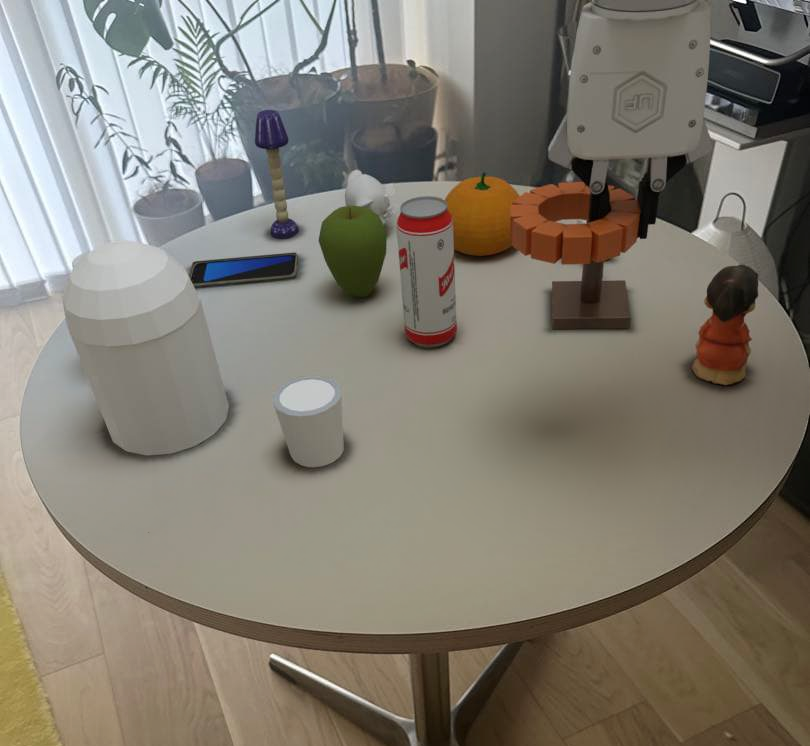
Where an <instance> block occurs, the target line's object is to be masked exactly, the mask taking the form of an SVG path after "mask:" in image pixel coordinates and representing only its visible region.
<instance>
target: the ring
mask: <svg viewBox="0 0 810 746" xmlns="http://www.w3.org/2000/svg"><path fill="white" fill-rule="evenodd" d="M557 185H558V186H557ZM557 185H555V184H553V183H549V184H546V185H542V186H538V187H536V188H532V189H530V190H529V192H527V191H525V192H524V193H522V194H520V195H519V196H520V197H518V198H517V199H516V200H514V201H513V204H512V205H511V206H510V242H511V243H512V246H511V247H513V248H514V249H516V250H517V251H518V252H520V253H521V254H523V255H524V256H525V257H526V256H530V259H531V260H537V261H541V262H544V263H549V264H553V265H556V263H558V262H559V261H560V260H561V264H562V265H583V264H590V258H591V259H592V260H594V261H595V262H596V263H598V262H601V261H604V262H605V261H607V260H611V259H614V258H617V257H620V256H621V253H623V254H625V253H627V252H628V251H629V250H630V249H631V248H632V247H633V246H634V245H635V244H636V243H637V240H638V238H639V237H638V229H639V221H640V213H641V211H640V207H639V203H638V200H637V199H636V196H634V195H633V194H631V193H629V192H627V191H625V190H624V189H623V188H619V187H618V188H616V189H615V186H614V185H609V184H608V188H609V194H610V201H609V212H608V214H607V215H606V216H605V217H604V218H603V219H600V220H596V221H593V222H589V223H586V224H579V223H563V222H559V221H563V220H564V221H566V220H567V221H568V220H577V219H582V220H586V221H588V216H589V203H590V189H589V187H588V186H587V185H586V184H585V183H584V182H583V181H571V182H570V181H569V182H568V181H567V182H558V183H557Z"/></svg>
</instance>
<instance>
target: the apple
mask: <svg viewBox="0 0 810 746" xmlns="http://www.w3.org/2000/svg"><path fill="white" fill-rule="evenodd" d="M387 238H388V231H387V229H386V227H385V224H384V225H383V223H382V220H381V219H380V217H379V216H378V215H377V214H376V213H375V212H373V211H372V210H370V209H368V208H365V207H360V206H346V205H345V206H340V207H338V208H337V209H334V210H333V211H332V212H331V213H329V215H327V216H326V217H325V219H323V220H322V222H321V226H320V230H319V234H318V244H319V247H320V249H321V252H322V255H323V259H324V262H325V264H326V266H327V268H328V270H329V271H330V273H331V276H332V277H333V279H334V282H335V283H336V285H337V286H338V287H339V288H340V289H341V290H343V291H344V292H345V293H346V294H347V295H348V296H351V297H352V298H353V297H354V298H366V297H368V296H369V295H371V294H372V293H373V290H374V289H375V287H376V285H377V284H378V282H379V280H380V276H381V273H382V270H383V266H384V263H385V258H386V255H387V244H388V243H387Z"/></svg>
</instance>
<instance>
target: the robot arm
mask: <svg viewBox="0 0 810 746" xmlns="http://www.w3.org/2000/svg"><path fill="white" fill-rule="evenodd" d="M711 23H712V22H711V5H710V4H709V2H707V1H706V0H591V2H588V3H586V4H584V5H583V6H582V9H581V12H580V15H579V19H578V25H577V29H576V35H575V41H574V47H573V52H572V58H571V66H570V72H569V82H568V91H567V92H568V93H567V101H566V102H567V103H566V113H565V115H564V117H563V119H562V121H561V123H560V125H559V126H558V128H557V130H556V132H555V134H554V136H553V138H552V139H551V141H550V143H549V146H548V148H547V157H548V160H549V161H551V162H553V163H555V164H557V165H559V166H561V167H562V168H565V169H569V170H571V171H572V172H573V174H575V175H576V177H578V178H579V180H580V181H581V182H584V183H585V186H588V187H589V189H590V203H589V216H588V223H589V222H593V221H596V220H600V219H603V218H604V217H605V216H606V215H607V214H608V212H609V201H610V194H609V188H608V185H609V184H608V180H607V176H608V175H607V174H608V170H609V169H608V168H609V162H610V160H629V159H646V172H645V173H644V174H643V177H641V180H640V181H639V182H638V189H637V198H636V200H638V203H639V207H640V211H641V213H640V221H639V229H638V238H639V239H640V240H647V238H648V232H649V225H656V222H657V215H658V208H659V200H660V192H661V191H663V190H664V189H665V187H666V186H667V185H666V184H667V183H668V182H669V181H671V179H672V178H674V177H675V176H676V175H677V174H678V173H679V172H680V171H682V170H683V169H684V168H685V166H687V165H689V164H692V163H693V162H696V161H697V160H699V159H702V158H703V157H705V156H708V155H709V154H710V153H712V151H713V149H714V143H713V142H712V139H711V136H710V135H711V134H710V133H709V129H708V126H707V124H706V121H705V109H706V108H705V107H706V100H707V99H706V97H707V90H708V79H709V68H710V67H709V65H710V52H711Z"/></svg>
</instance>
